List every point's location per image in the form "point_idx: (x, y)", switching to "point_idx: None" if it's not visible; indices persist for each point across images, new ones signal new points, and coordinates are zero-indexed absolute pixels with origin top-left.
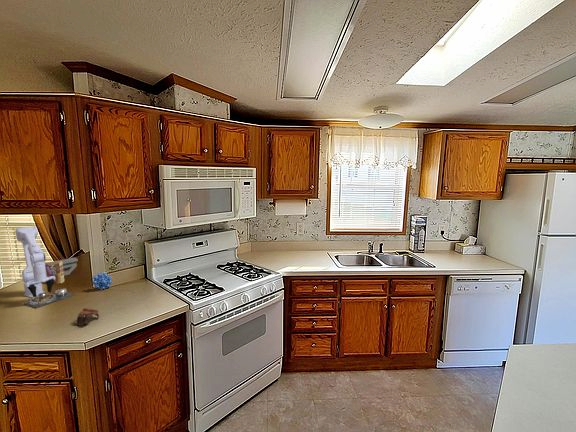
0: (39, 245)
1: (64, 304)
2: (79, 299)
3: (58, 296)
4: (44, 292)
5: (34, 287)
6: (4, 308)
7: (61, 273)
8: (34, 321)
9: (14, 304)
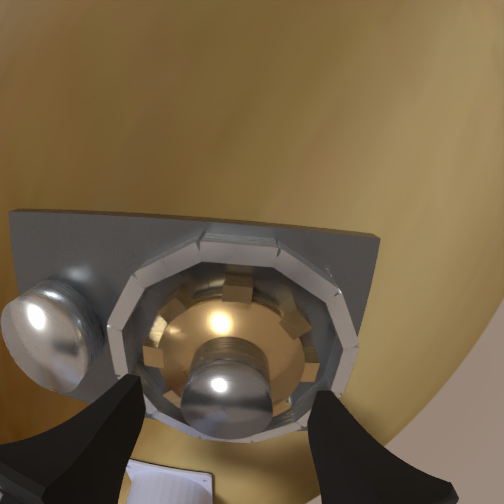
0: None
1: (198, 35)
2: (66, 42)
3: (95, 302)
4: (189, 418)
5: (419, 500)
6: (387, 443)
7: None
8: (488, 20)
9: None
